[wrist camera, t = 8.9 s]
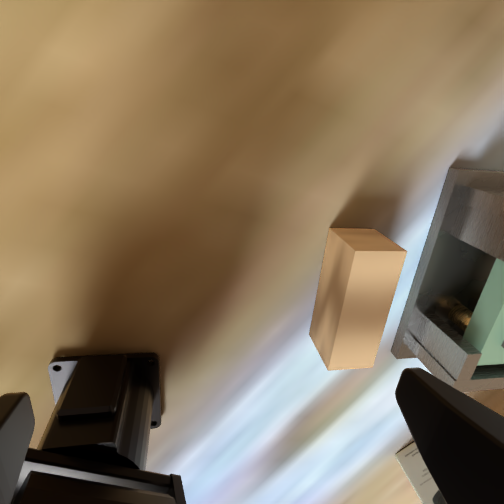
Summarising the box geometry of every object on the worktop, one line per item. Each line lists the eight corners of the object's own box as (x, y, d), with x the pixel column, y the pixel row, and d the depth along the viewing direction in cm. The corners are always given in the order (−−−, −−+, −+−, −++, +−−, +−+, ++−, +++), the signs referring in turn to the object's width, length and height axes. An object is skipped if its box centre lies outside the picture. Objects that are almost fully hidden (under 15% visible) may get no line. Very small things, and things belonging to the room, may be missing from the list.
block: (348, 332, 24) (372, 367, 21) (309, 334, 23) (327, 370, 20) (373, 228, 21) (406, 251, 18) (329, 227, 20) (355, 250, 17)
